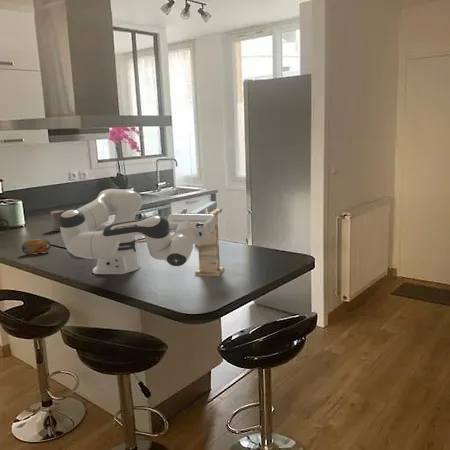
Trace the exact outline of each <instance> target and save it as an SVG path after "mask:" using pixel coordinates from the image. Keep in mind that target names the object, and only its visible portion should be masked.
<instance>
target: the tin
mask: <svg viewBox="0 0 450 450" xmlns="http://www.w3.org/2000/svg"><path fill="white" fill-rule="evenodd" d="M50 249H51V243H50V241H49V240H48V239H47V238H39V239H29V240H26V241H25V242H24V241H23V244H22V245H21V250H22V252H23V254H25V255H26V254H33V253H41V252H47V253H48V252H50Z"/></svg>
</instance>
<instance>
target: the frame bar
mask: <svg viewBox="0 0 450 450" xmlns="http://www.w3.org/2000/svg"><path fill="white" fill-rule="evenodd" d="M214 208H218V203H217V201H209V202H207V203H205V204H204V205H202V206H199V207H198V208H196V209H194V210H192V211H190V212H189V214H204V209H208V212H209V211H211V210H213V209H214Z"/></svg>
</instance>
